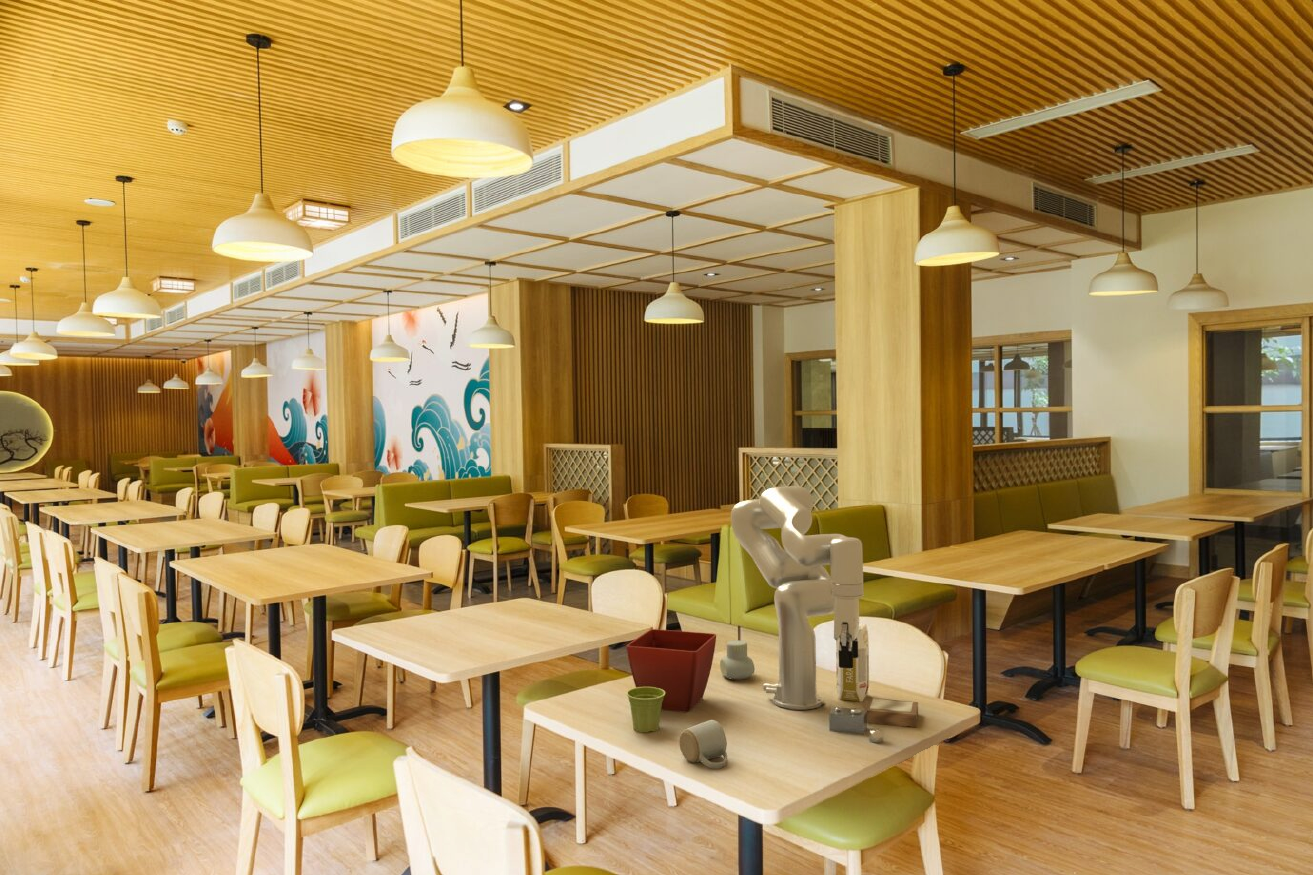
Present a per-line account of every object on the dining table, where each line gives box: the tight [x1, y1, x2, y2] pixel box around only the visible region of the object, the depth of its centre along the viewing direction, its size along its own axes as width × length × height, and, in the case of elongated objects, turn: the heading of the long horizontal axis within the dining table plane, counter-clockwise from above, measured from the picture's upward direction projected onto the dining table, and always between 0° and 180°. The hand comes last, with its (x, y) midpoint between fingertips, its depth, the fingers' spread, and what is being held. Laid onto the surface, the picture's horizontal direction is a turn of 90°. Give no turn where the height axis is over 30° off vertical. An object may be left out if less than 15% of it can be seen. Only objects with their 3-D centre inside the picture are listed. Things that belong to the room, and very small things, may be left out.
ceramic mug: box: [679, 719, 728, 770], centre depth 183 cm, size 11×8×8 cm
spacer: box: [869, 727, 884, 745], centre depth 193 cm, size 3×3×2 cm
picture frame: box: [863, 697, 919, 728], centre depth 208 cm, size 12×10×3 cm
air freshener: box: [719, 640, 755, 680], centre depth 245 cm, size 11×8×10 cm
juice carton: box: [835, 623, 870, 703], centre depth 225 cm, size 8×9×19 cm
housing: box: [828, 706, 868, 736], centre depth 201 cm, size 8×5×5 cm, turn 67°
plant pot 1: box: [626, 687, 665, 733], centre depth 203 cm, size 9×9×9 cm
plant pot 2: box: [626, 628, 717, 713], centre depth 222 cm, size 19×19×17 cm
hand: (848, 662), depth 200 cm, fingers open, 9 cm apart
